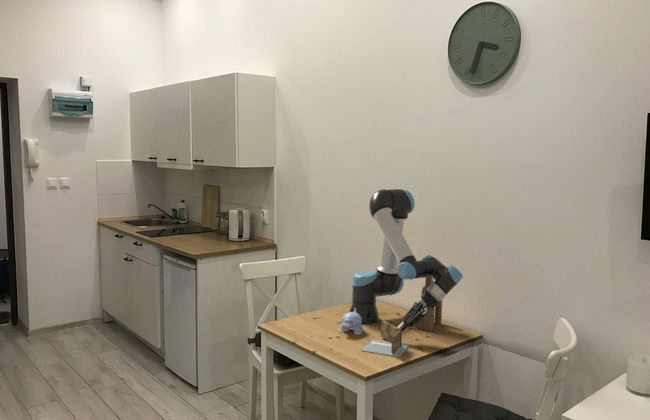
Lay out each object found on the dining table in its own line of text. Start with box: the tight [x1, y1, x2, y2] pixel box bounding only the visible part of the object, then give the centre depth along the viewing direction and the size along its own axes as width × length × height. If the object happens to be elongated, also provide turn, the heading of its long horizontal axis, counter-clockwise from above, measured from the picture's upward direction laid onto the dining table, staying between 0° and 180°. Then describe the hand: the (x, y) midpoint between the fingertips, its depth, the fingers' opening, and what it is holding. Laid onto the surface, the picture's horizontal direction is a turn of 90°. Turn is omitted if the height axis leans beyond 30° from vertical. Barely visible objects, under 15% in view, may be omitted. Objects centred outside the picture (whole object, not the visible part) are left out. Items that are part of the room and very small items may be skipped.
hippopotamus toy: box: [337, 308, 365, 336], centre depth 244 cm, size 11×15×10 cm
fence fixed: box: [391, 330, 403, 354], centre depth 220 cm, size 2×11×8 cm, turn 157°
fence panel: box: [380, 320, 399, 343], centre depth 231 cm, size 12×1×7 cm, turn 27°
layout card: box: [361, 338, 410, 358], centre depth 223 cm, size 16×15×1 cm
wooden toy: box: [416, 277, 443, 332], centre depth 254 cm, size 16×7×25 cm, turn 147°
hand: (394, 335), depth 231 cm, fingers closed
